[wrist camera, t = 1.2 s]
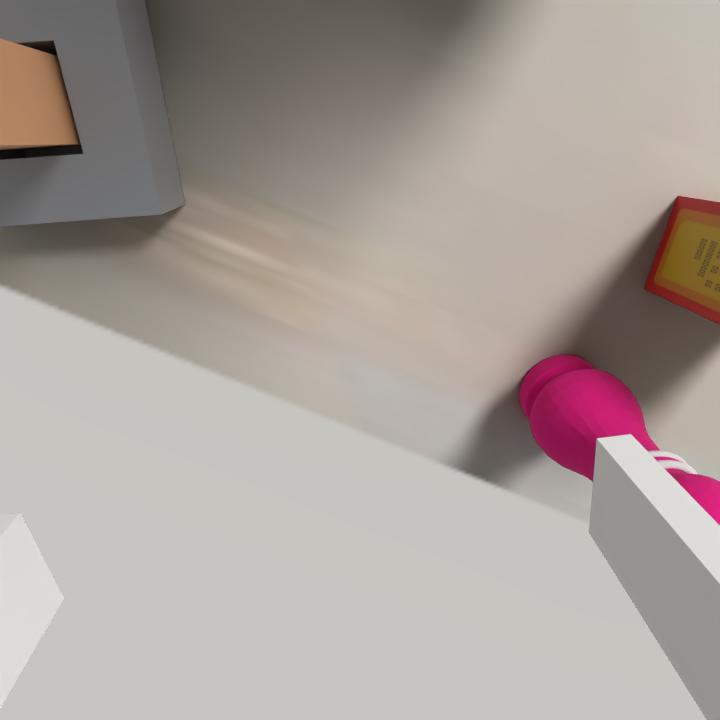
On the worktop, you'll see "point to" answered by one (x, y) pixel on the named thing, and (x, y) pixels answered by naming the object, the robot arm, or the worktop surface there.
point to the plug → (33, 100)
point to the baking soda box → (690, 258)
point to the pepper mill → (596, 422)
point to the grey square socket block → (93, 117)
